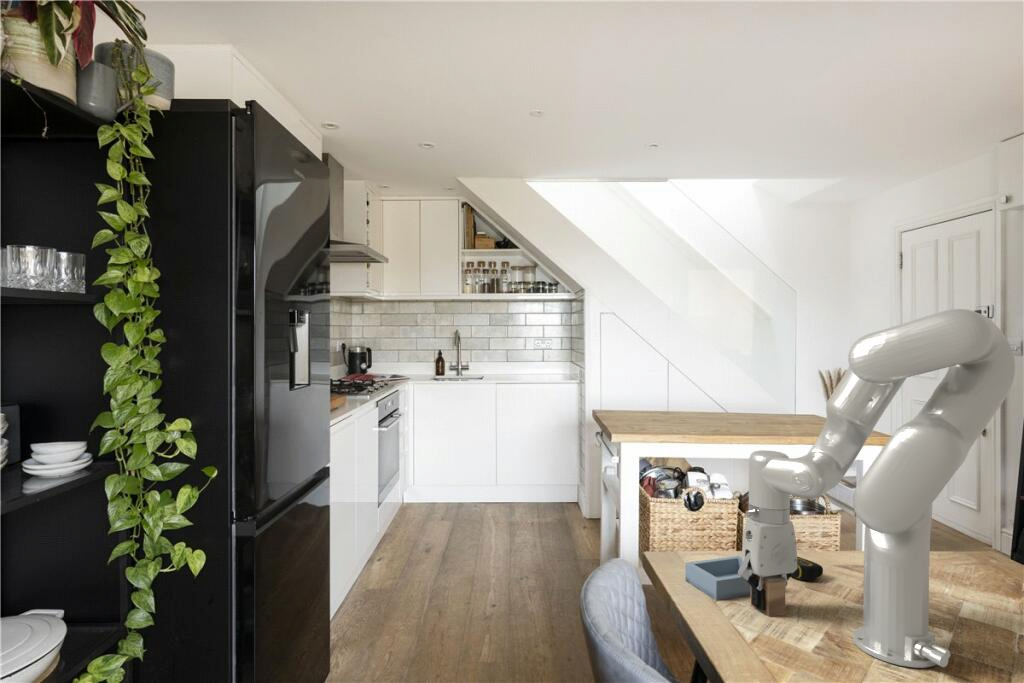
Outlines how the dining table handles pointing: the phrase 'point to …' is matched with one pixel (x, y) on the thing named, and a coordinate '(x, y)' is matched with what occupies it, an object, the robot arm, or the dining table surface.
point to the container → (718, 577)
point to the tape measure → (807, 570)
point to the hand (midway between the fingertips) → (767, 605)
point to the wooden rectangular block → (774, 595)
